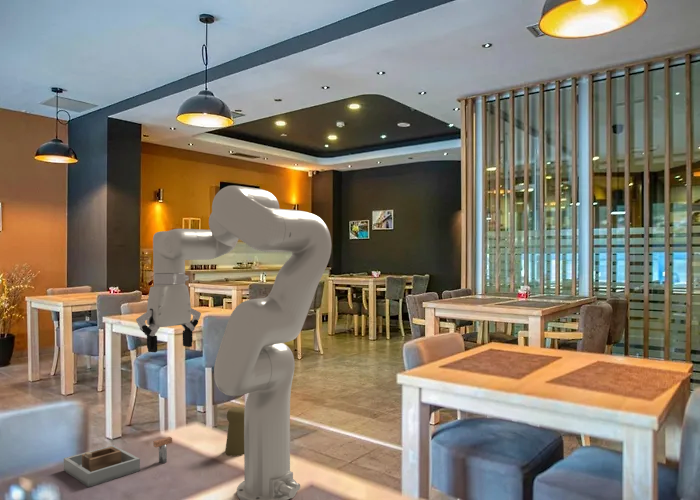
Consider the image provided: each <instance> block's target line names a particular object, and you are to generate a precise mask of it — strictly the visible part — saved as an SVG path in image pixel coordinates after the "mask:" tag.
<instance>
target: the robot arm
mask: <svg viewBox="0 0 700 500" xmlns="http://www.w3.org/2000/svg"><path fill="white" fill-rule="evenodd" d="M208 226H209V227H208V228H209V229H202V228H201V229H200V228H199V229H196V228H195V229H194V228H174V229H170V230H167V231H166V230H163V231H157V232H155V233H154V234H153V237H152V251H153V253H152V254H153V255H152V256H153V260H152V261H153V286H150V288H149V291H148V292H149V293H148V297H147V306H146V312H145V313H143V314H141V315H140V316H138V317H136V318H135V319H136V320H135V321H136V323H137V325H138V326H139V330H140V331H141V332H143V334H144V335H145V336H146V348H147V351H148V352H149V353H157V352H158V336H157V335H156V333H157V332H158V330H159V329H160V328H164V327H165V328H169V327H176V326H181V327H182V328H183V329H184V330H182V346H183V347H189V348H191V347H193V341H194V340H193V331H195V328H196V326H197V325H199V324H198V323H199V320H200V318H201V316H202V313H201V312H200V311H198V310H196V309H194V308H192V307H191V298H190V291H189V287H188V285H186V282H187V281H189V279H190V276H189V275H186V261H191V260H195V261H196V260H202V261H203V260H206V261H207V260H214V259H216V258H220V257H222V256H223V255H226V254H228V253H230V252H232V251H233V250H234V249H235V248H236V245H237V244H238V241H239V240H240V241H242V243H244V244H245V245H247V246H248V247H251V248H252V249H254V250H257V251H260V252H265V253H266V252H267V253H271V252H272V253H273V252H274V253H276V252H277V253H286V252H287V253H292V254H291V256H290V257H289V258H288V259H287V260H286V262H285V263H283V265H282V267H280V269H279V270H278V273H277V274H276V276H275V279H274V282H273V286H272V288H271V290H270V292H269V294H268V295H267V296H266V297H262V298H261V297H260V298H259V297H258V298H253V299H252V298H251V299H247V300H244V301H243V302H240V303H239V304H238V305H237V306H236V307H235V308H234V309H233V311H232V312H231V314H230V315H229V318H228V321H227V324H226V327H225V329H224V333H223V336H222V338H221V342H220V344H219V349H218V350H217V354H216V357H215V362H214V368H213V369H214V370H213V377H214V382H215V385H216V387H217V388H218V390H219V391H220V392H221V393H222V394H224V395H226V396H231V397H237V396H242V395H247V398H246V401H245V405H244V408H245V412H244V457H243V458H244V464H243V465H244V467H243V468H244V470H243V471H244V475H243V476H244V479H243V481H242V482H240V483H239V485H238V486H237V488H236V495H237V498H238V499H239V500H290V499H293V498H295V496H296V494H297V492H298V491H300V489H301V484H300V483H298V482H297V481H296V479H294V472H293V471H291V392H292V383H293V379H294V373H295V368H296V367H295V366H296V365H295V356H294V353H293V351H292V350H291V348H290V346H288V345H287V344H286V343H288V342H292V341H293V340H295V339H297V337H298V336H299V335H300V333H301V331H302V330H303V328H304V324H305V321H306V319H307V317H308V313H309V311H310V309H311V305H312V302H313V301H314V297H315V294H316V291H317V289H318V285H319V283H320V281H321V279H322V277H323V275H324V273H325V271H326V268H327V266H328V264H329V262H330V258H331V254H332V237H331V233H330V230H329V228H328V226H327V224H326V223H325V222H324V220H323V219H322V218H321V217H320V216H319V215H316V214H314V213H311V212H308V211H304V210H298V209H284V208H280V204H279V200H278V199H277V197H276V196H275V195H274V194H273V193H272V192H270V191H268V190H267V189H266V190H265V189H262V188H255V187H249V186H241V185H227V186H224V187H223V188H221V189H220V190H219V191H218V192H217V193H216V194H215V196H214V197H213V200H212V205H211V213H210V214H209V218H208Z"/></svg>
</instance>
